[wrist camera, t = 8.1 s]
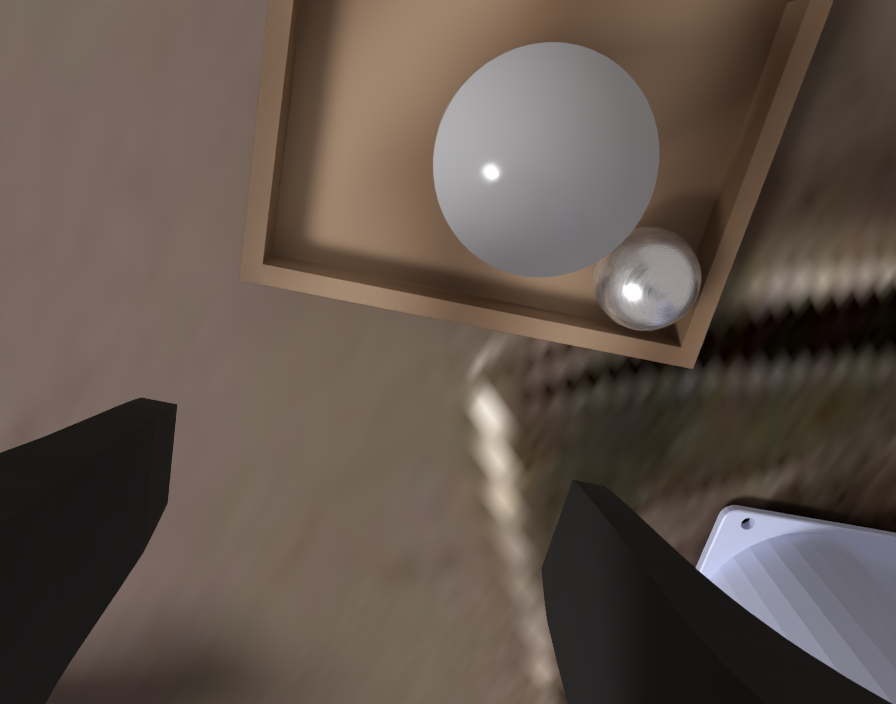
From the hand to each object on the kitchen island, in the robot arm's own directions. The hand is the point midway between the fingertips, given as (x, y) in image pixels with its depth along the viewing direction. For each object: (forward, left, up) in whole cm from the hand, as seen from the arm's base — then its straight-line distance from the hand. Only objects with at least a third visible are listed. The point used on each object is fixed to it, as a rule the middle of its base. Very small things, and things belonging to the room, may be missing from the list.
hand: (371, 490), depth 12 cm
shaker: (-2, -6, -10) cm, 12 cm away
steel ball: (-7, -3, -8) cm, 11 cm away
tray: (-2, -6, -10) cm, 12 cm away
